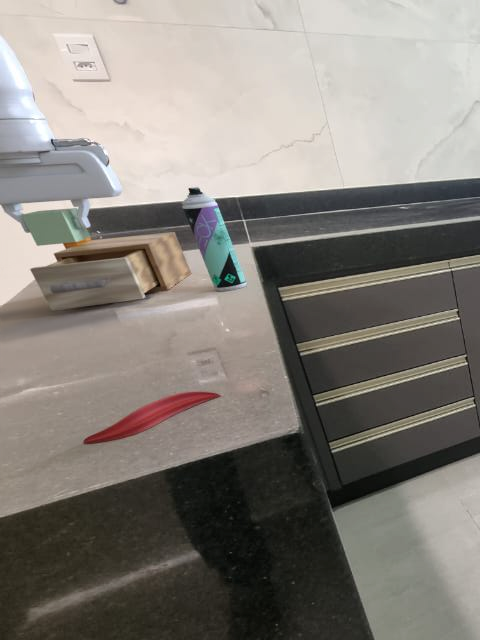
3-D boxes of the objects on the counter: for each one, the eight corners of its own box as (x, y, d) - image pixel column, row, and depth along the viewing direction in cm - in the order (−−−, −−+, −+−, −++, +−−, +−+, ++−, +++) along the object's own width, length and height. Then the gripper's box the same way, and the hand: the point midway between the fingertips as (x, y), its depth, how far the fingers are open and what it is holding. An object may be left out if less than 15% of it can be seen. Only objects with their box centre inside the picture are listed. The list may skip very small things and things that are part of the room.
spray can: (219, 286, 112) (181, 187, 103) (249, 282, 114) (214, 185, 105) (212, 292, 107) (171, 190, 99) (243, 288, 109) (206, 187, 101)
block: (36, 245, 86) (21, 214, 84) (53, 240, 90) (38, 210, 88) (76, 242, 88) (61, 211, 86) (90, 237, 92) (77, 208, 90)
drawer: (134, 304, 98) (115, 262, 95) (39, 317, 94) (15, 274, 90) (170, 281, 114) (154, 244, 111) (89, 291, 109) (71, 253, 106)
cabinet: (168, 290, 111) (147, 243, 107) (77, 301, 106) (53, 253, 102) (191, 273, 124) (174, 231, 120) (112, 283, 119) (92, 240, 115)
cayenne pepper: (84, 450, 52) (75, 434, 52) (81, 435, 55) (72, 419, 55) (227, 403, 60) (221, 388, 60) (218, 392, 63) (212, 378, 63)
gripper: (108, 137, 89) (143, 220, 95) (-58, 144, 82) (-10, 233, 88) (90, 137, 84) (128, 226, 89) (-90, 144, 77) (-36, 240, 82)
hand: (58, 229), depth 88 cm, fingers closed on block, 5 cm apart
